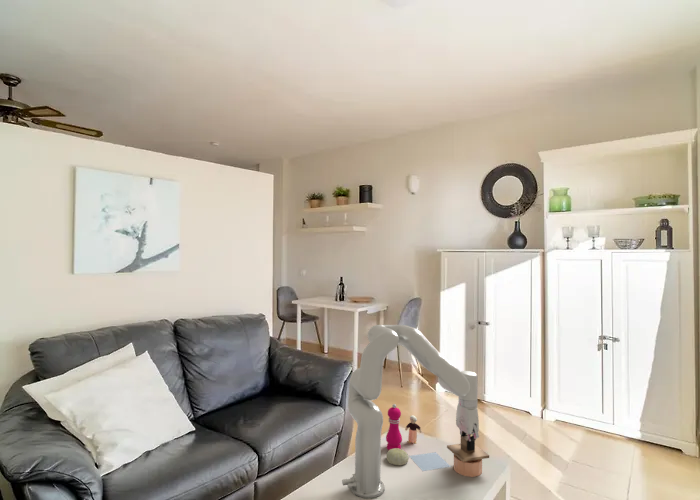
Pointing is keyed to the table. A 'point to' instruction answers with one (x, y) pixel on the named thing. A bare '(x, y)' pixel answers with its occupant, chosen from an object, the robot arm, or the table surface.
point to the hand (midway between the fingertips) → (467, 447)
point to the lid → (466, 455)
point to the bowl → (468, 467)
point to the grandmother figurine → (412, 430)
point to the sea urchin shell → (397, 456)
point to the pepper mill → (394, 428)
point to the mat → (429, 461)
